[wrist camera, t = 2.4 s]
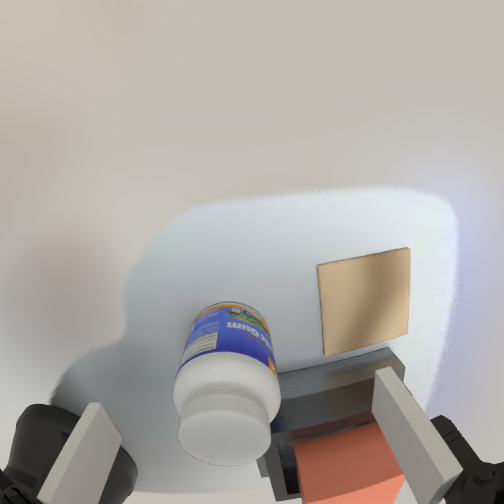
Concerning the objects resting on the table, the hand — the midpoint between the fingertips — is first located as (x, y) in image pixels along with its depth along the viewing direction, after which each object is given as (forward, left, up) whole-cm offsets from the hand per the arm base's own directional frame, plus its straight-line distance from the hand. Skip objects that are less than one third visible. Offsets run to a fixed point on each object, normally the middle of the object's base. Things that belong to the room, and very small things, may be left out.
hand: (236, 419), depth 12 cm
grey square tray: (+6, -9, -8) cm, 13 cm away
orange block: (+6, -9, -3) cm, 11 cm away
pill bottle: (0, 0, -9) cm, 9 cm away
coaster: (+10, 0, -8) cm, 13 cm away
